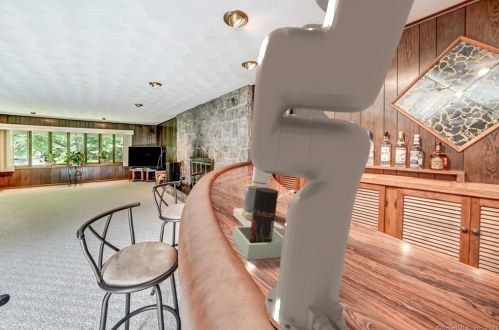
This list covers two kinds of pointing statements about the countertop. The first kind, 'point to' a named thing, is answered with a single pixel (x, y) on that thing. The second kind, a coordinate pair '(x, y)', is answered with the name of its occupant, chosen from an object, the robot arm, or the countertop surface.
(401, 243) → the countertop surface
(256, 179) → the cylindrical container
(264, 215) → the deodorant
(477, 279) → the countertop surface
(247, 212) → the fuse block
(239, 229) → the tray
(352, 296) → the countertop surface
